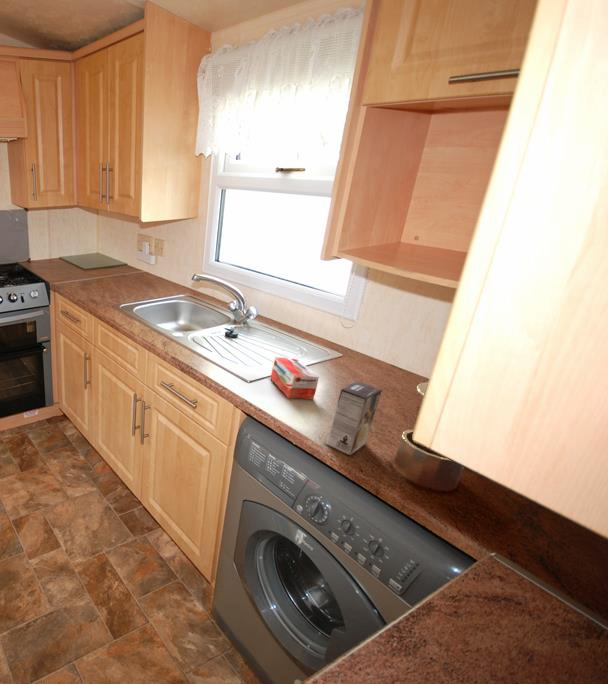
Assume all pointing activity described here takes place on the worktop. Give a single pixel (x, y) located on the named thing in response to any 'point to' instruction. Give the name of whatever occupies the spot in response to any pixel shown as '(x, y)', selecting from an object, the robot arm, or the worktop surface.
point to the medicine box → (294, 378)
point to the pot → (425, 465)
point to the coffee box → (353, 417)
